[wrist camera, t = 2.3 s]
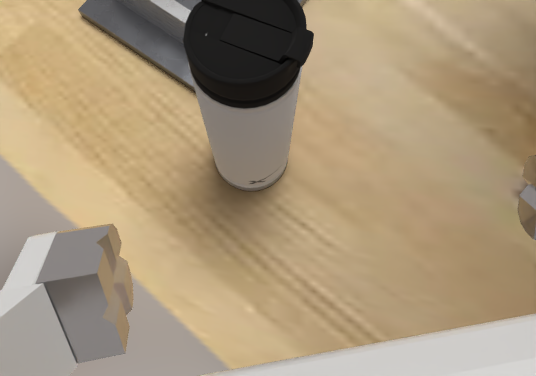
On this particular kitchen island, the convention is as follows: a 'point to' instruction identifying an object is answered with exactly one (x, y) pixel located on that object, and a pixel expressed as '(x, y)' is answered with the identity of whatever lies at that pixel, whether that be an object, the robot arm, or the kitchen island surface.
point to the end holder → (148, 29)
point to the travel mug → (248, 82)
